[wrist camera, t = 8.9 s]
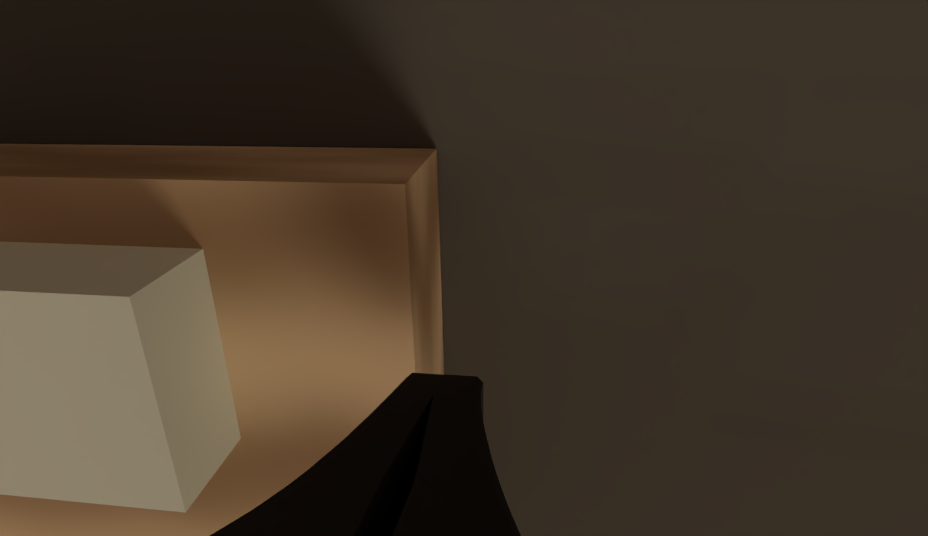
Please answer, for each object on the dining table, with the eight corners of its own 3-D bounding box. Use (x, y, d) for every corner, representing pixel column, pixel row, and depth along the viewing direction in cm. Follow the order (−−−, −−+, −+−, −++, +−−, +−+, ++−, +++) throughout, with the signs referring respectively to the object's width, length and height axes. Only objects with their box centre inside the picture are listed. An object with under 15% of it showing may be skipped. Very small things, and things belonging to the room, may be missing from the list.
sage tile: (240, 438, 14) (185, 512, 12) (58, 423, 15) (-25, 492, 13) (202, 248, 13) (129, 296, 10) (-5, 241, 13) (-116, 285, 11)
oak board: (451, 601, 21) (433, 706, 18) (92, 560, 23) (16, 649, 19) (436, 148, 15) (405, 184, 11) (-57, 142, 16) (-204, 171, 13)
